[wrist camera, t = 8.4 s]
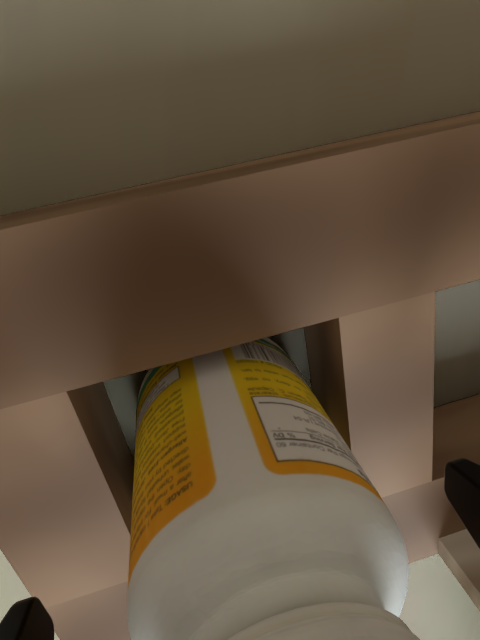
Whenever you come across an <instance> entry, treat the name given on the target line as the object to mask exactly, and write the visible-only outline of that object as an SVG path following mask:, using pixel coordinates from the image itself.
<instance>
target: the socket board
mask: <svg viewBox="0 0 480 640" xmlns="http://www.w3.org/2000/svg"><path fill="white" fill-rule="evenodd" d="M476 280H480V111H478V112H474V113H469V114H464V115H460V116H455V117H451V118H446V119H442V120H437V121H432V122H428V123H423V124H419V125H414V126H410V127H405V128H400V129H396V130H391V131H387V132H382V133H378V134H373V135H368V136H364V137H359V138H355V139H350V140H345V141H341V142H336V143H332V144H327V145H323V146H318V147H313V148H309V149H304V150H300V151H295V152H291V153H286V154H281V155H277V156H272V157H268V158H263V159H259V160H254V161H249V162H245V163H240V164H236V165H231V166H227V167H222V168H217V169H213V170H208V171H204V172H199V173H195V174H190V175H185V176H181V177H176V178H172V179H167V180H163V181H158V182H153V183H149V184H144V185H140V186H135V187H131V188H126V189H121V190H117V191H112V192H108V193H103V194H99V195H94V196H89V197H85V198H80V199H76V200H71V201H67V202H62V203H57V204H53V205H48V206H44V207H39V208H35V209H30V210H25V211H21V212H16V213H12V214H7V215H3V216H0V549H1V551H2V552H3V554H4V555H5V557H6V558H7V560H8V561H9V563H10V564H11V566H12V567H13V569H14V570H15V572H16V573H17V575H18V576H19V578H20V579H21V581H22V582H23V584H24V586H25V587H26V589H27V590H28V592H29V593H30V595H31V596H32V597H34V596H35V597H37V598H39V599H40V601H41V602H42V604H43V605H44V607H45V609H46V610H47V612H48V613H49V615H50V616H51V618H52V620H53V624H54V631H55V633H56V634H57V636H58V637H59V639H60V640H131V638H130V633H129V627H128V619H127V594H128V573H129V553H130V537H131V519H132V497H133V481H134V461H133V459H132V456H131V454H130V451H129V449H128V446H127V443H126V441H125V438H124V436H123V433H122V431H121V428H120V426H119V423H118V421H117V418H116V416H115V413H114V411H113V408H112V406H111V403H110V400H109V398H108V395H107V393H106V390H105V388H104V385H103V383H102V382H103V381H107V380H111V379H114V378H118V377H122V376H126V375H129V374H133V373H137V372H140V371H144V370H148V369H151V368H155V367H159V366H162V365H166V364H170V363H173V362H177V361H181V360H185V359H188V358H192V357H196V356H199V355H203V354H207V353H210V352H214V351H218V350H221V349H225V348H229V347H233V346H236V345H240V344H244V343H247V342H251V341H255V340H258V339H262V338H266V337H269V336H273V335H277V334H281V333H284V332H288V331H292V330H295V329H299V328H303V327H304V331H305V338H306V345H307V353H308V360H309V368H310V375H311V383H312V390H313V394H314V395H315V397H316V398H317V400H318V401H319V403H320V404H321V406H322V408H323V409H324V411H325V412H326V414H327V415H328V417H329V418H330V420H331V421H332V423H333V424H334V426H335V427H336V429H337V430H338V432H339V434H340V435H341V437H342V438H343V440H344V441H345V443H346V444H347V446H348V447H349V449H350V450H351V452H352V454H353V455H354V457H355V458H356V460H357V461H358V463H359V464H360V466H361V467H362V469H363V470H364V472H365V474H366V475H367V477H368V478H369V480H370V481H371V483H372V484H373V486H374V487H375V488H376V490H377V491H378V493H379V495H380V496H381V498H382V500H383V502H384V503H385V505H386V506H387V508H388V509H389V511H390V513H391V514H392V516H393V518H394V519H395V521H396V523H397V525H398V527H399V529H400V532H401V534H402V537H403V540H404V543H405V546H406V551H407V557H408V564H409V563H412V562H415V561H418V560H421V559H423V558H426V557H429V556H432V555H435V554H439V555H440V556H441V558H442V559H443V561H444V562H445V563H446V565H447V566H448V568H449V569H450V570H451V572H452V573H453V575H454V576H455V577H456V579H457V580H458V581H459V583H460V584H461V586H462V587H463V588H464V590H465V591H466V593H467V594H468V595H469V597H470V598H471V600H472V601H473V602H474V604H475V605H476V607H477V608H478V609H479V611H480V549H479V548H478V546H477V544H476V543H475V541H474V540H473V538H472V537H471V535H470V533H469V532H468V530H467V529H466V527H465V525H464V524H463V522H462V521H461V519H460V518H459V516H458V514H457V513H456V511H455V510H454V508H453V506H452V505H451V503H450V502H449V500H448V498H447V496H446V494H445V491H444V473H445V465H446V463H447V462H449V461H452V460H455V459H458V458H466V459H468V460H471V461H473V462H475V463H477V464H479V465H480V394H478V395H475V396H472V397H469V398H465V399H462V400H459V401H455V402H452V403H449V404H446V405H442V406H439V407H436V408H433V400H434V345H435V292H436V291H439V290H443V289H447V288H450V287H454V286H458V285H461V284H465V283H469V282H473V281H476Z"/></svg>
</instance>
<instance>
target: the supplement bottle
mask: <svg viewBox="0 0 480 640" xmlns="http://www.w3.org/2000/svg"><path fill="white" fill-rule="evenodd" d="M408 577H409V565H408V557H407V551H406V546H405V543H404V540H403V537H402V534H401V532H400V529H399V527H398V525H397V523H396V521H395V519H394V518H393V516H392V514H391V513H390V511H389V509H388V508H387V506H386V505H385V503H384V502H383V500H382V498H381V496H380V495H379V493H378V491H377V490H376V488H375V487H374V486H373V484H372V483H371V481H370V480H369V478H368V477H367V475H366V474H365V472H364V470H363V469H362V467H361V466H360V464H359V463H358V461H357V460H356V458H355V457H354V455H353V454H352V452H351V450H350V449H349V447H348V446H347V444H346V443H345V441H344V440H343V438H342V437H341V435H340V434H339V432H338V430H337V429H336V427H335V426H334V424H333V423H332V421H331V420H330V418H329V417H328V415H327V414H326V412H325V411H324V409H323V408H322V406H321V404H320V403H319V401H318V400H317V398H316V397H315V395H314V394H313V392H312V390H311V389H310V387H309V386H308V384H307V383H306V381H305V380H304V378H303V377H302V375H301V373H300V372H299V370H298V369H297V367H296V366H295V365H294V363H293V362H292V361H291V359H290V358H289V356H288V355H287V354H286V353H285V351H284V350H283V349H282V348H281V347H280V346H278V345H277V344H276V343H274V342H273V341H272V340H270V339H269V338H267V337H266V338H262V339H258V340H255V341H251V342H247V343H244V344H240V345H236V346H233V347H229V348H225V349H221V350H218V351H214V352H210V353H207V354H203V355H199V356H196V357H192V358H188V359H185V360H181V361H177V362H173V363H170V364H166V365H162V366H159V367H155V368H151V369H149V371H148V372H147V374H146V376H145V378H144V380H143V382H142V385H141V388H140V391H139V395H138V402H137V411H136V436H135V462H134V481H133V497H132V519H131V537H130V553H129V573H128V594H127V619H128V627H129V633H130V638H131V640H419V638H418V637H417V636H416V635H414V634H413V633H412V632H411V630H410V629H409V628H408V627H407V625H406V624H405V623H404V622H403V621H402V620H401V619H400V618H399V616H400V613H401V611H402V608H403V605H404V601H405V598H406V593H407V589H408Z"/></svg>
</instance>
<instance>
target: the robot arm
mask: <svg viewBox="0 0 480 640" xmlns="http://www.w3.org/2000/svg"><path fill="white" fill-rule="evenodd" d="M444 491H445V494H446V496H447V498H448V500H449V502H450V503H451V505H452V506H453V508H454V510H455V511H456V513H457V514H458V516H459V518H460V519H461V521H462V522H463V524H464V525H465V527H466V529H467V530H468V532H469V533H470V535H471V537H472V538H473V540H474V541H475V543H476V544H477V546H478V548H479V549H480V465H479V464H477V463H475V462H473V461H471V460H468V459H466V458H458V459H455V460H452V461H449V462H447V463H446V465H445V473H444ZM0 640H54V624H53V620H52V618H51V616H50V615H49V613H48V612H47V610H46V609H45V607H44V605H43V604H42V602H41V601H40V599H39V598H37V597H35V596H34V597H30V598H27V599H24V600H21V601H18V602H16V603H15V604H14V605H13V606H12V607H11V608H10V609H9V611H8V612H7V614H6V615H5V617H4V618H3V620H2V621H1V623H0Z"/></svg>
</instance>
